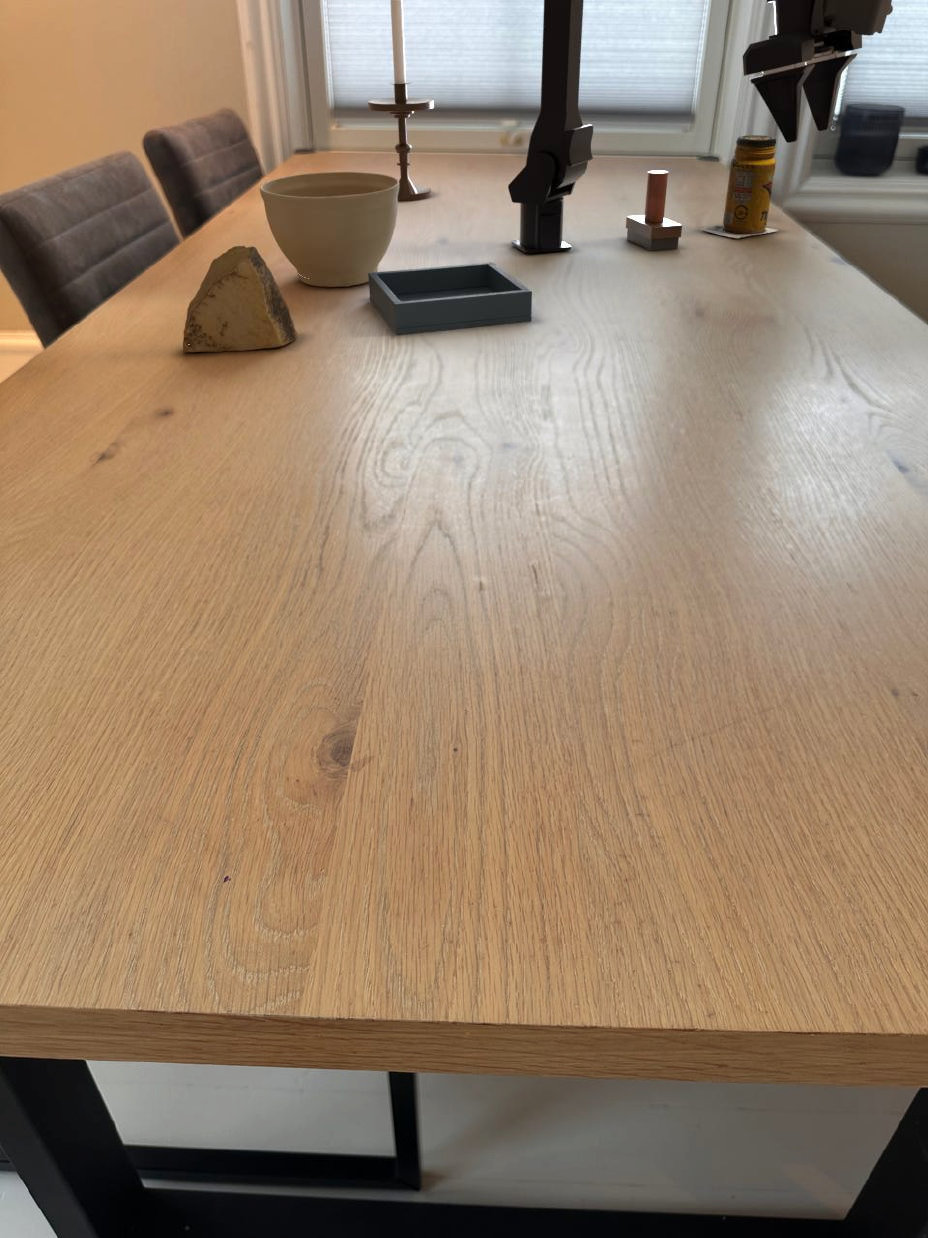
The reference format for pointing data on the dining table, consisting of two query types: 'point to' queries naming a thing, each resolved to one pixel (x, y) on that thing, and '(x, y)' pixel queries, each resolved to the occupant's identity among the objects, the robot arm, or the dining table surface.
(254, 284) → the rock
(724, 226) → the condiment
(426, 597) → the dining table surface
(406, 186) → the candlestick
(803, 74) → the robot arm
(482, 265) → the tray
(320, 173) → the planter bowl
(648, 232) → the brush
